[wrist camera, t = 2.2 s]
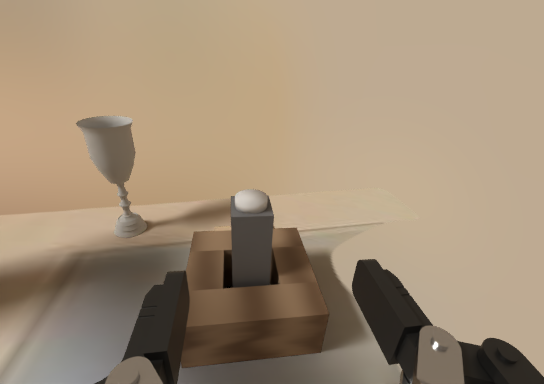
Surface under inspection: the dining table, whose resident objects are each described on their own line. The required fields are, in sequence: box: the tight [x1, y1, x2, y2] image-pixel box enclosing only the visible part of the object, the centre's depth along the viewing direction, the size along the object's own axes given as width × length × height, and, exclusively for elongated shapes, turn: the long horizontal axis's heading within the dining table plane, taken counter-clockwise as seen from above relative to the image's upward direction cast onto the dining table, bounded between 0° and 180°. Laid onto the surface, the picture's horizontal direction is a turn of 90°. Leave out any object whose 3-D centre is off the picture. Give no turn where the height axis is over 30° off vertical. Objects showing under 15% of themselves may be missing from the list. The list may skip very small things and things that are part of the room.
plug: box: [231, 189, 274, 288], centre depth 29 cm, size 4×4×15 cm
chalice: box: [76, 116, 147, 238], centre depth 41 cm, size 7×7×18 cm
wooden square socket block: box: [181, 228, 329, 368], centre depth 32 cm, size 14×14×6 cm
